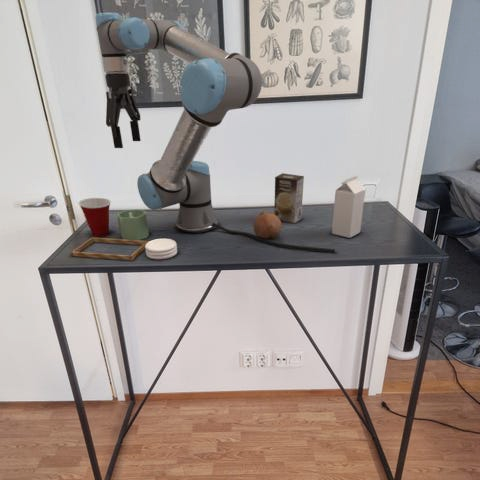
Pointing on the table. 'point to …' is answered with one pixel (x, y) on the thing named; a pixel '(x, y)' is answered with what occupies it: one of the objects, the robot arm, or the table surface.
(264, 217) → the onion
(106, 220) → the plastic cup
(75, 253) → the frame
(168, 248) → the coaster
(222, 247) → the table surface
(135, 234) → the cup
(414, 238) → the table surface
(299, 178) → the coffee box
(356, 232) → the milk carton
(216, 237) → the table surface
